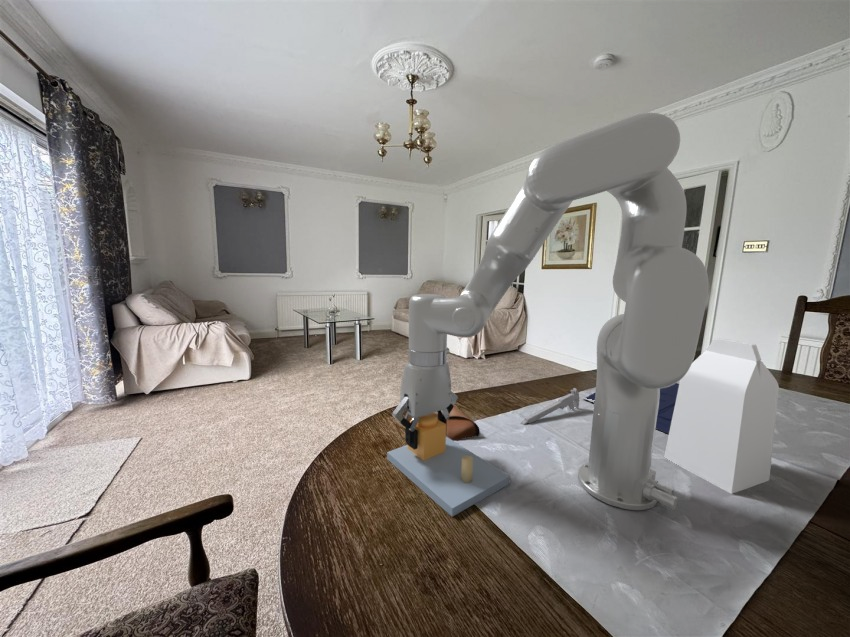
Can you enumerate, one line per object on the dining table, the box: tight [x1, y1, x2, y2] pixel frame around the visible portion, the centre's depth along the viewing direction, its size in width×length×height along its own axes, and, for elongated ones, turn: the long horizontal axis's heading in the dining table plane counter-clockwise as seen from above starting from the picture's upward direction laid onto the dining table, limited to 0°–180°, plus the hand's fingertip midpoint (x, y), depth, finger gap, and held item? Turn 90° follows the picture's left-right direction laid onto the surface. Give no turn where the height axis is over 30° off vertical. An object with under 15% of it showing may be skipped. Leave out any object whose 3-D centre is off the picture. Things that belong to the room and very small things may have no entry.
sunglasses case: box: [433, 404, 481, 442], centre depth 86 cm, size 18×7×7 cm, turn 24°
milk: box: [663, 337, 780, 495], centre depth 66 cm, size 12×12×26 cm
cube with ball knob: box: [408, 413, 446, 461], centre depth 70 cm, size 6×6×7 cm
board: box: [386, 437, 511, 517], centre depth 66 cm, size 20×14×6 cm
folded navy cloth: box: [585, 382, 679, 435], centre depth 98 cm, size 24×30×4 cm
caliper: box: [520, 387, 580, 425], centre depth 90 cm, size 21×1×6 cm, turn 119°
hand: (426, 440), depth 70 cm, fingers open, 6 cm apart
